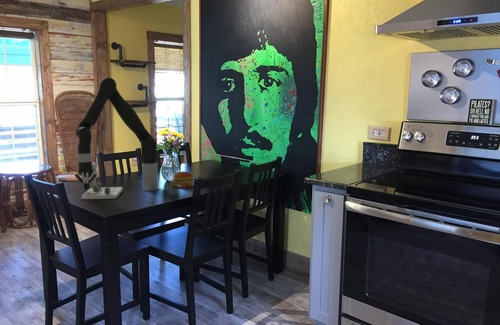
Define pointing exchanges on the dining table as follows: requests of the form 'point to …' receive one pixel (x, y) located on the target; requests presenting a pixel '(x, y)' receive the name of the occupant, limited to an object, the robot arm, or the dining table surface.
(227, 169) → the dining table surface
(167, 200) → the dining table surface
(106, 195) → the switch panel
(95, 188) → the middle switch
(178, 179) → the burger
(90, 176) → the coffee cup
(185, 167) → the dining table surface
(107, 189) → the front switch
